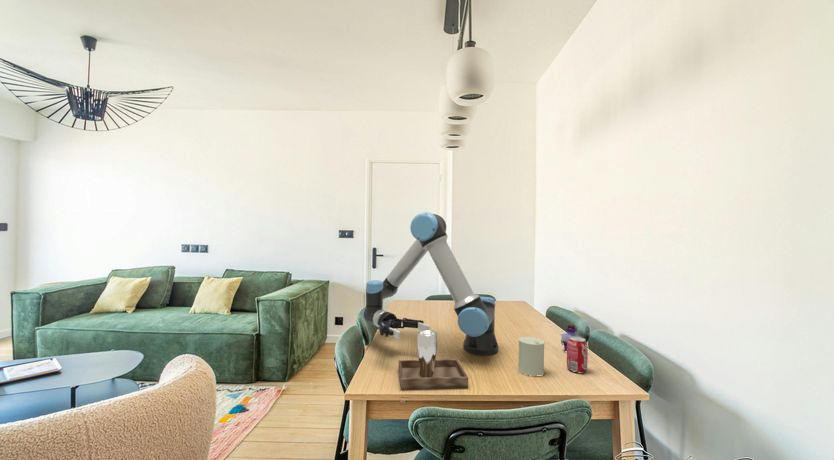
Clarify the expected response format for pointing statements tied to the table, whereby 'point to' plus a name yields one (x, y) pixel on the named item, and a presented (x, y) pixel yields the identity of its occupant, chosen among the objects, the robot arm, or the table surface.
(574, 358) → the soda can
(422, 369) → the beer glass
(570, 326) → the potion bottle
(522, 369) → the can
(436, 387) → the walnut tray
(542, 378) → the table surface
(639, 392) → the table surface
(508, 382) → the table surface
